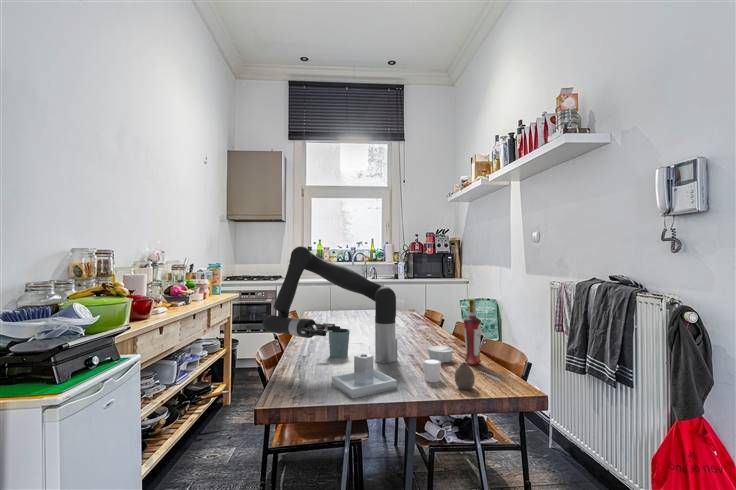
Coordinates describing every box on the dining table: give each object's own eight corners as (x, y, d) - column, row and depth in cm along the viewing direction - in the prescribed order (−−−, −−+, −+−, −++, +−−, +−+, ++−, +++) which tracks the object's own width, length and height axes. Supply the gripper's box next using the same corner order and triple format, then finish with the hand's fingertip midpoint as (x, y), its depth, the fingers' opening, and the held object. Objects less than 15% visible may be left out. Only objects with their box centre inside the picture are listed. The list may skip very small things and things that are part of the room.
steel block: (362, 380, 137) (362, 352, 138) (373, 383, 135) (373, 354, 135) (354, 384, 133) (354, 355, 134) (365, 387, 130) (365, 358, 131)
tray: (373, 376, 145) (373, 368, 145) (396, 388, 132) (396, 380, 132) (331, 384, 136) (331, 376, 136) (352, 398, 122) (352, 389, 123)
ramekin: (453, 364, 161) (453, 352, 162) (427, 363, 164) (427, 351, 164) (452, 357, 172) (452, 346, 173) (428, 356, 175) (428, 345, 175)
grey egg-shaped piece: (471, 393, 127) (471, 367, 127) (452, 389, 131) (451, 364, 131) (477, 387, 133) (476, 362, 133) (458, 383, 137) (458, 359, 137)
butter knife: (495, 380, 139) (502, 379, 140) (456, 362, 165) (462, 361, 166) (495, 382, 139) (502, 380, 140) (456, 363, 165) (462, 362, 166)
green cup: (337, 351, 184) (337, 327, 184) (354, 354, 178) (353, 329, 178) (324, 356, 175) (324, 330, 176) (340, 359, 169) (340, 333, 170)
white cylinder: (430, 383, 136) (430, 364, 137) (419, 378, 142) (419, 360, 143) (445, 381, 140) (444, 362, 140) (433, 375, 146) (433, 357, 146)
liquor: (467, 360, 167) (466, 298, 168) (484, 363, 163) (483, 299, 164) (461, 364, 161) (460, 299, 162) (478, 367, 157) (477, 300, 158)
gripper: (289, 321, 146) (320, 324, 137) (314, 315, 158) (344, 318, 149) (289, 340, 146) (320, 345, 137) (314, 333, 158) (344, 337, 149)
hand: (332, 331), depth 143 cm, fingers open, 8 cm apart
